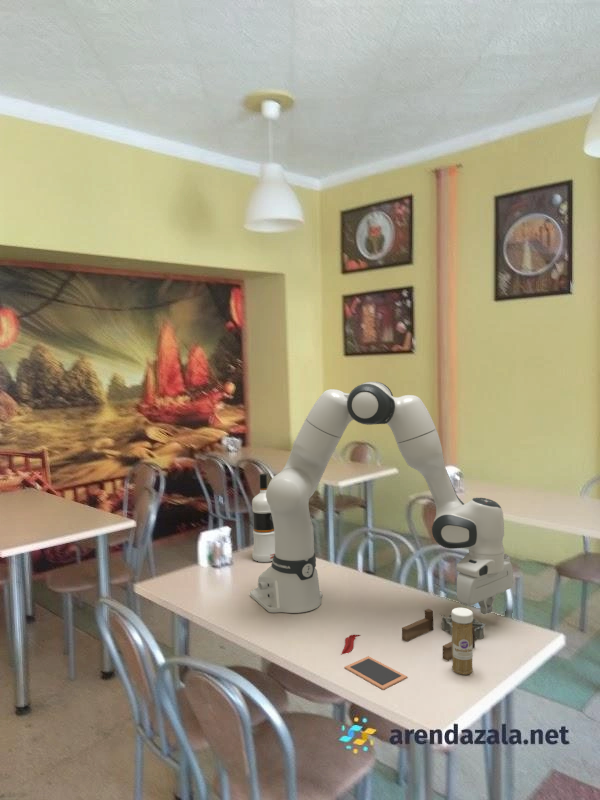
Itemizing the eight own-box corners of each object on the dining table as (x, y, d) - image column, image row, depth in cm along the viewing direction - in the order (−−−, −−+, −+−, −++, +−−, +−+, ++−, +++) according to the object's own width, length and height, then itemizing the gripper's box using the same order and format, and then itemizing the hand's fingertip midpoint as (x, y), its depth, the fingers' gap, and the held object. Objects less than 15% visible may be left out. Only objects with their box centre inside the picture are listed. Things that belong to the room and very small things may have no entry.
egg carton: (436, 628, 157) (436, 612, 157) (460, 622, 160) (460, 606, 160) (464, 645, 147) (463, 628, 147) (488, 638, 150) (488, 622, 150)
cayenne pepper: (354, 634, 155) (354, 627, 154) (370, 639, 152) (370, 632, 152) (327, 653, 145) (327, 645, 145) (343, 658, 142) (343, 650, 142)
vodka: (252, 555, 218) (250, 471, 216) (278, 553, 219) (276, 471, 217) (252, 563, 209) (249, 477, 207) (279, 562, 209) (276, 476, 207)
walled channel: (402, 639, 150) (401, 619, 150) (428, 627, 156) (428, 608, 156) (447, 660, 139) (447, 639, 139) (474, 647, 145) (474, 626, 145)
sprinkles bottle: (457, 676, 132) (457, 616, 131) (448, 666, 137) (447, 607, 136) (477, 674, 133) (476, 614, 132) (467, 663, 138) (466, 605, 137)
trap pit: (344, 668, 137) (344, 666, 137) (368, 657, 142) (368, 655, 142) (383, 690, 128) (383, 688, 128) (407, 677, 132) (407, 676, 132)
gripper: (499, 549, 168) (499, 598, 169) (452, 566, 155) (452, 619, 156) (519, 555, 163) (519, 605, 164) (472, 573, 150) (473, 627, 151)
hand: (486, 612), depth 160 cm, fingers closed
